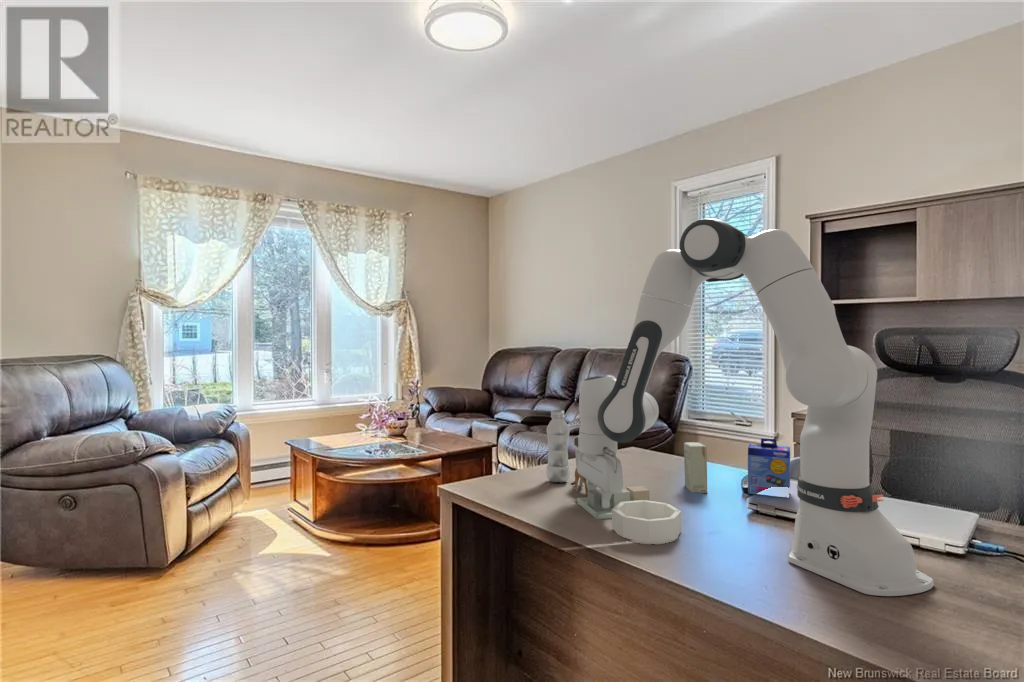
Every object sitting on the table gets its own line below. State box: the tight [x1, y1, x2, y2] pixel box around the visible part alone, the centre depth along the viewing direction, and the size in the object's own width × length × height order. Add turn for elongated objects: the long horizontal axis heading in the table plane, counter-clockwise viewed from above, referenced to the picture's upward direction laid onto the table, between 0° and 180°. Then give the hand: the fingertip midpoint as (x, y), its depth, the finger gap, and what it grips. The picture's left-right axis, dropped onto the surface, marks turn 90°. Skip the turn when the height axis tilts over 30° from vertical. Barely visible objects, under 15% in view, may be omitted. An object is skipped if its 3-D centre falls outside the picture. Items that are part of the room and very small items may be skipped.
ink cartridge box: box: [747, 437, 791, 495], centre depth 145 cm, size 10×6×14 cm, turn 64°
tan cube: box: [625, 485, 651, 501], centre depth 135 cm, size 4×4×4 cm
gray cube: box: [587, 488, 610, 512], centre depth 133 cm, size 4×4×4 cm
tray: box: [576, 496, 612, 520], centre depth 134 cm, size 13×16×1 cm
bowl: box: [611, 500, 682, 545], centre depth 118 cm, size 13×13×5 cm
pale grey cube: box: [610, 487, 630, 508], centre depth 134 cm, size 4×4×4 cm
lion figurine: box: [570, 467, 598, 497], centre depth 147 cm, size 15×5×9 cm, turn 28°
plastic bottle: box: [545, 409, 571, 483], centre depth 158 cm, size 6×7×20 cm
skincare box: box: [683, 441, 708, 494], centre depth 149 cm, size 6×4×12 cm
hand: (598, 502), depth 133 cm, fingers open, 6 cm apart
